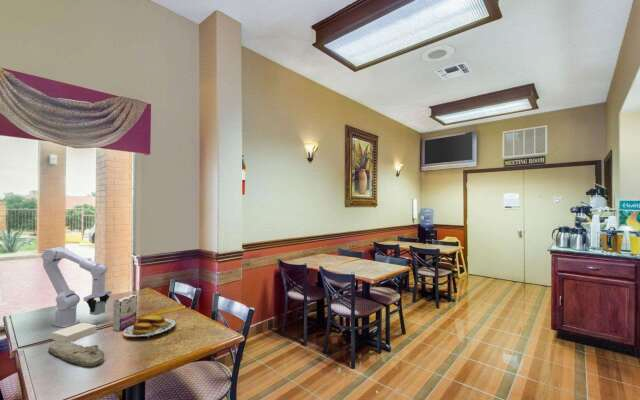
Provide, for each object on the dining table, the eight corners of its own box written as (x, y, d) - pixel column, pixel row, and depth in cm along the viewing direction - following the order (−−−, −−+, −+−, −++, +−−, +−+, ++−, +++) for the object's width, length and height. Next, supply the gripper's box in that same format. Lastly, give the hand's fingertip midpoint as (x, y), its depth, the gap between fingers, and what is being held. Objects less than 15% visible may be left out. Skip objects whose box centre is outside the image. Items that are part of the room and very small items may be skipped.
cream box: (51, 340, 148) (52, 332, 148) (82, 329, 161) (82, 322, 161) (66, 344, 144) (66, 336, 145) (96, 333, 158) (96, 325, 158)
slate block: (89, 314, 167) (90, 303, 167) (98, 311, 172) (98, 300, 172) (96, 315, 166) (96, 304, 166) (104, 312, 170) (105, 301, 171)
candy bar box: (129, 322, 171) (130, 294, 172) (136, 323, 170) (137, 295, 171) (111, 330, 160) (113, 300, 161) (119, 331, 159) (120, 300, 160)
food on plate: (122, 346, 144) (123, 332, 144) (121, 328, 165) (122, 316, 165) (179, 334, 159) (180, 322, 159) (172, 319, 179) (172, 308, 179)
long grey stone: (66, 346, 145) (41, 356, 136) (66, 335, 145) (40, 345, 136) (112, 359, 131) (87, 371, 122) (111, 347, 131) (86, 358, 122)
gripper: (90, 290, 161) (89, 315, 161) (115, 283, 175) (114, 307, 175) (81, 288, 163) (79, 313, 163) (106, 282, 177) (105, 305, 177)
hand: (97, 310), depth 169 cm, fingers closed on slate block, 5 cm apart
